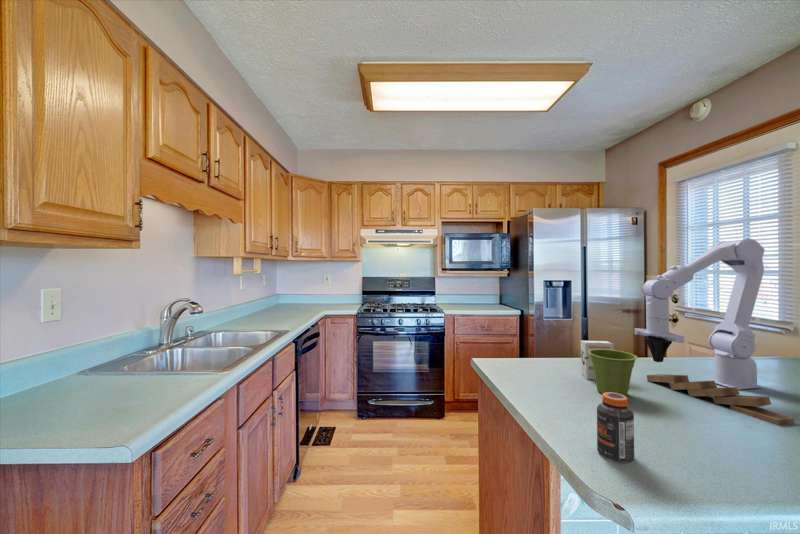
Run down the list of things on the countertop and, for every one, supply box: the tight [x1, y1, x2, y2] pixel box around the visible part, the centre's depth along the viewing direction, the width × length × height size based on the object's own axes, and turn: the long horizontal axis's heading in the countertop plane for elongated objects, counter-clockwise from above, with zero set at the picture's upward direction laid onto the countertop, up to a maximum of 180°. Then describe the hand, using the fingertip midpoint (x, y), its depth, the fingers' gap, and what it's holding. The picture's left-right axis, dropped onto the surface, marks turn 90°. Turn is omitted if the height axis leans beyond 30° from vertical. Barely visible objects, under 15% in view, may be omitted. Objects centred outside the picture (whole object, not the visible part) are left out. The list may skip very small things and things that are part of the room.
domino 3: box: [686, 386, 741, 397], centre depth 89 cm, size 5×2×9 cm
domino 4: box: [712, 394, 772, 408], centre depth 84 cm, size 5×2×9 cm
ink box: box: [580, 339, 615, 381], centre depth 109 cm, size 9×5×12 cm, turn 80°
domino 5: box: [730, 405, 795, 427], centre depth 80 cm, size 5×2×9 cm
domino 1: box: [646, 373, 690, 383], centre depth 102 cm, size 5×2×9 cm
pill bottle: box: [596, 392, 635, 464], centre depth 63 cm, size 6×6×11 cm
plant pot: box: [588, 349, 638, 397], centre depth 95 cm, size 12×12×11 cm
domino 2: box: [669, 380, 718, 391], centre depth 94 cm, size 5×2×9 cm
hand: (658, 361), depth 104 cm, fingers closed
